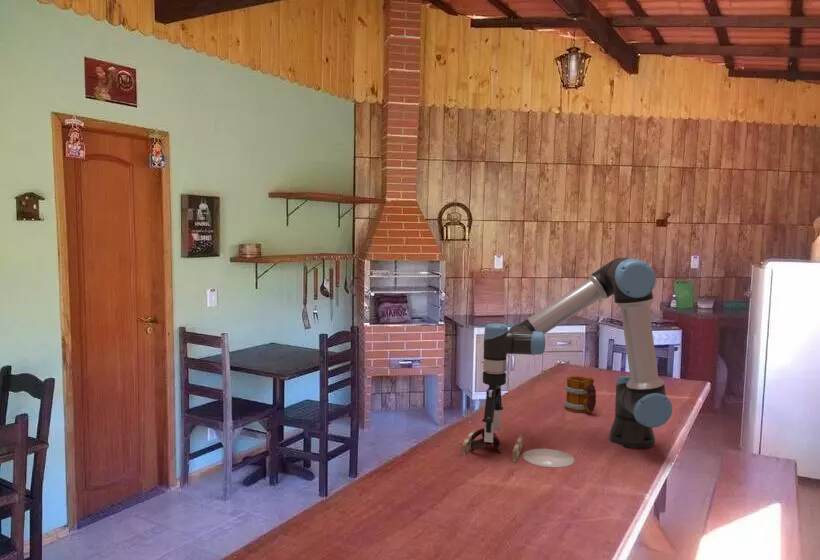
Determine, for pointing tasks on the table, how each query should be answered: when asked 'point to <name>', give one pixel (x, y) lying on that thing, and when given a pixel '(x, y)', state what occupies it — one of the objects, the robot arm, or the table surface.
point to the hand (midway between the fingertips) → (492, 435)
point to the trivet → (548, 458)
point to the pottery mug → (481, 442)
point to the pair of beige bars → (515, 452)
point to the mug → (580, 394)
